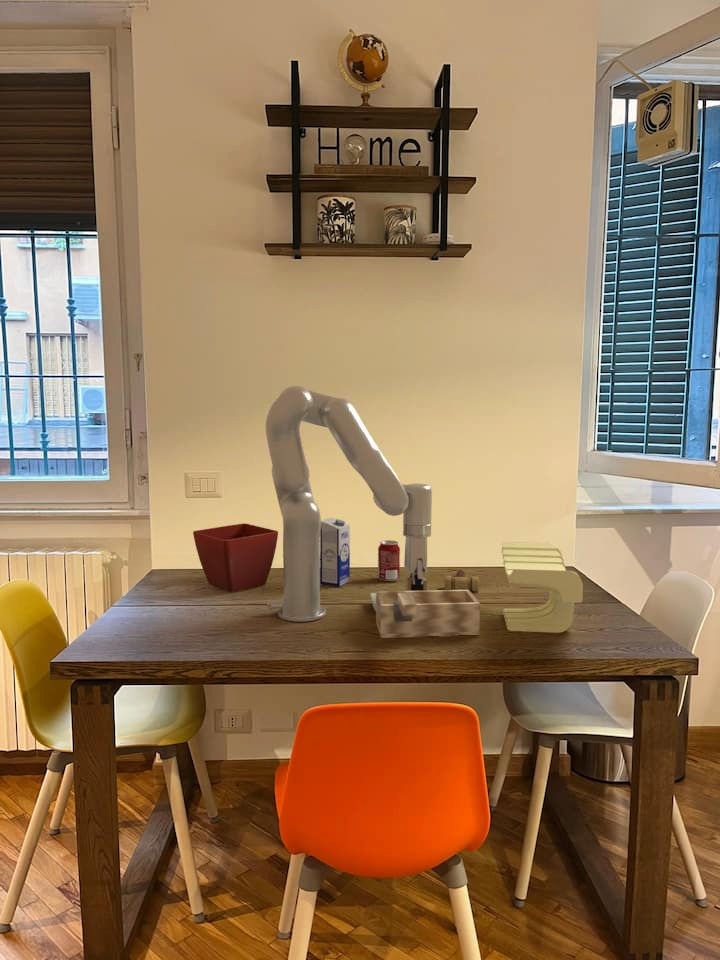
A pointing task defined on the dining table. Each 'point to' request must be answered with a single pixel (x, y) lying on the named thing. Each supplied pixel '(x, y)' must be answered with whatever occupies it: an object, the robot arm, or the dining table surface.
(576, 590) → the slatted curved stool
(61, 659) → the dining table surface
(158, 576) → the dining table surface
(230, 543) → the plant pot
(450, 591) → the toolbox
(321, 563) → the milk carton
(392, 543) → the soda can
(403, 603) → the bar
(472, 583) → the gavel
